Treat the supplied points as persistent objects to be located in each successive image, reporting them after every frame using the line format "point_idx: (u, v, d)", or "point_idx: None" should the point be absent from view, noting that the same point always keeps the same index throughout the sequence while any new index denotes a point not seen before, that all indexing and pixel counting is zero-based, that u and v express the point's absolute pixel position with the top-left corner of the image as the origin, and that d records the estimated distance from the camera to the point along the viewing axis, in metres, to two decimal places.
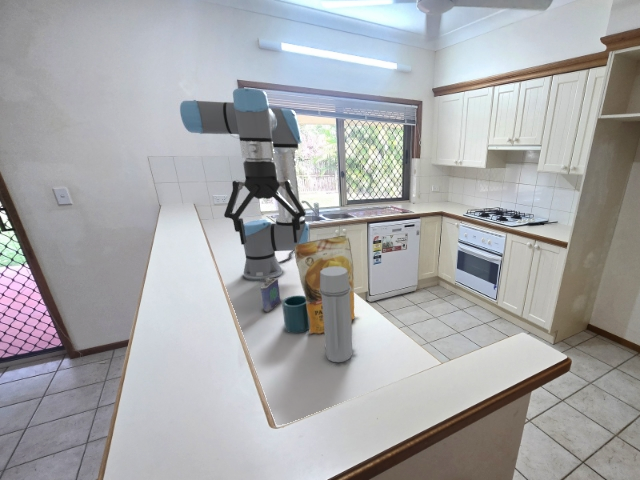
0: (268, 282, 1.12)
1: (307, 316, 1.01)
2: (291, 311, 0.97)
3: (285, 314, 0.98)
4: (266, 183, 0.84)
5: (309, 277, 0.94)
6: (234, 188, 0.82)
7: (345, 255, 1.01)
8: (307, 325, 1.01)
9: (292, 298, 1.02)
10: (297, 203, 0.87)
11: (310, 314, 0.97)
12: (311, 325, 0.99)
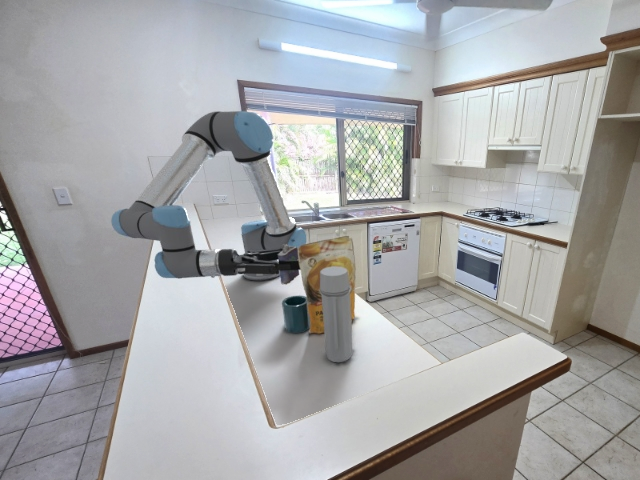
0: (286, 249, 0.94)
1: (307, 316, 1.01)
2: (291, 311, 0.97)
3: (285, 314, 0.98)
4: None
5: (311, 278, 0.93)
6: None
7: (348, 256, 1.00)
8: (307, 325, 1.01)
9: (292, 298, 1.02)
10: None
11: (311, 314, 0.97)
12: (311, 325, 0.99)
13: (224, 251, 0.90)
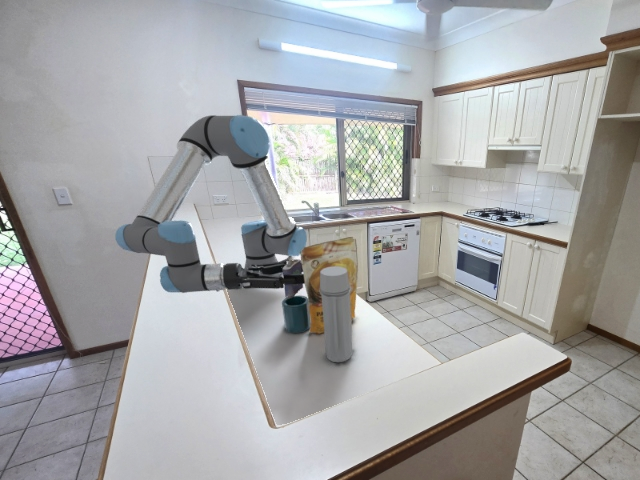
0: (290, 263, 0.95)
1: (307, 316, 1.01)
2: (291, 311, 0.97)
3: (285, 314, 0.98)
4: None
5: (313, 279, 0.92)
6: None
7: (351, 257, 0.98)
8: (307, 325, 1.01)
9: (292, 298, 1.02)
10: None
11: (311, 315, 0.96)
12: (312, 325, 0.98)
13: (229, 265, 0.91)
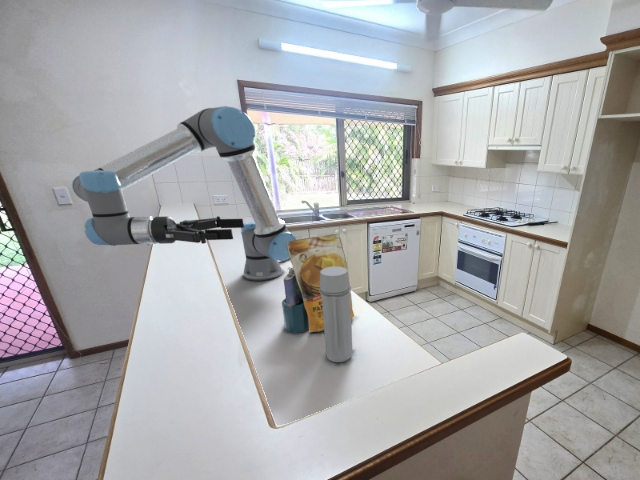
0: (291, 273, 0.96)
1: (307, 316, 1.01)
2: (291, 311, 0.97)
3: (285, 314, 0.98)
4: None
5: (303, 273, 0.96)
6: None
7: (337, 252, 1.04)
8: (307, 325, 1.01)
9: None
10: None
11: (308, 311, 0.98)
12: (310, 323, 0.99)
13: (158, 218, 0.90)
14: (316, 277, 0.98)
